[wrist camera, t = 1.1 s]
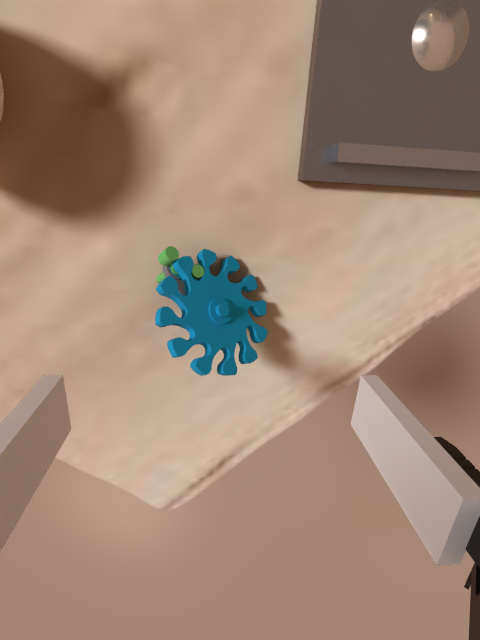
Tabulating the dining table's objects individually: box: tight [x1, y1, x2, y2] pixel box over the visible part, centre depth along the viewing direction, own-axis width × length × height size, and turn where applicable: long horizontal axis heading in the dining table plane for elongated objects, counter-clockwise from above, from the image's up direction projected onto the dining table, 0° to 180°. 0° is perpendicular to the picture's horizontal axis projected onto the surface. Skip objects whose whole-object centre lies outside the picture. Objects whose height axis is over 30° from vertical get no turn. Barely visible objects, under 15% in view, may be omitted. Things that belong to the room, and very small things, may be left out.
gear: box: [155, 246, 268, 376], centre depth 27 cm, size 11×6×10 cm
